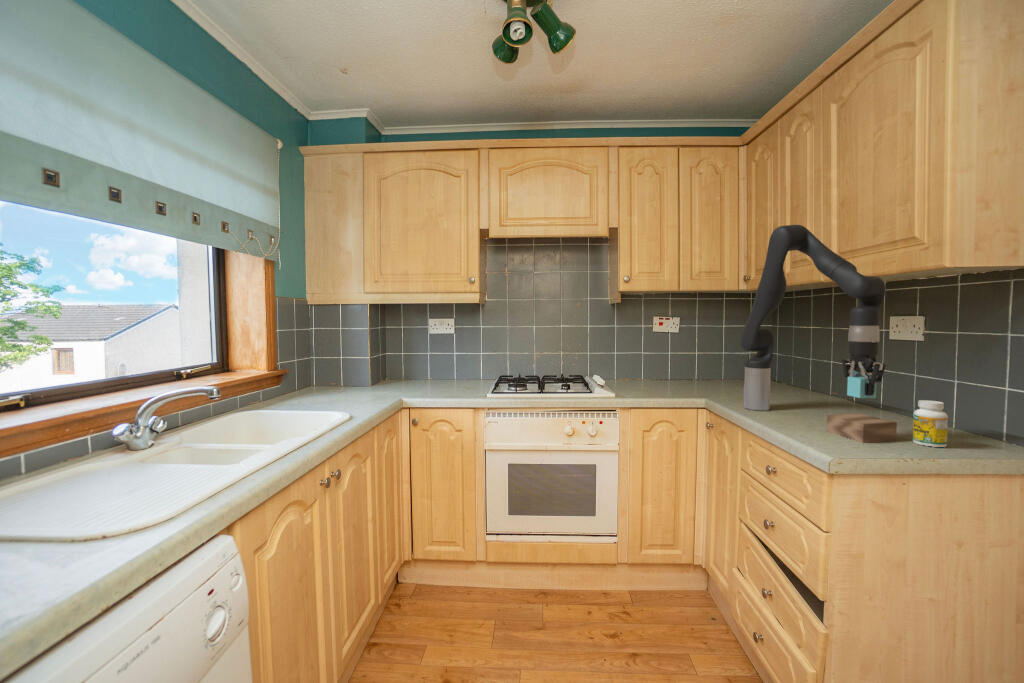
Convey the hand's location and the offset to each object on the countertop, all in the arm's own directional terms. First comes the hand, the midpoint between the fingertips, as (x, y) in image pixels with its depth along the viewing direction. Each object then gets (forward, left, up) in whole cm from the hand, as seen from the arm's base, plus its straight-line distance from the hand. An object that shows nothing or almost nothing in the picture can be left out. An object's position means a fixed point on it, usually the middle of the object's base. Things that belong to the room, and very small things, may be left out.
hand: (861, 393), depth 132 cm
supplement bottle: (+9, +13, -14) cm, 21 cm away
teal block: (0, 0, -1) cm, 1 cm away
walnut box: (0, 0, -14) cm, 14 cm away
